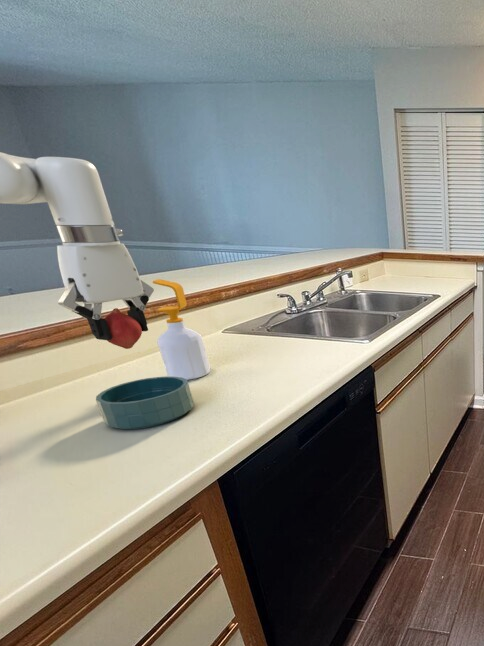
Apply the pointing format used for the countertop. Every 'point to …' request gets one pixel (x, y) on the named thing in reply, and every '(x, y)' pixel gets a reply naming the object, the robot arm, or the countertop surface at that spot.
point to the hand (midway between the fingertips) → (122, 334)
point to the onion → (123, 329)
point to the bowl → (145, 402)
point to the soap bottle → (181, 342)
